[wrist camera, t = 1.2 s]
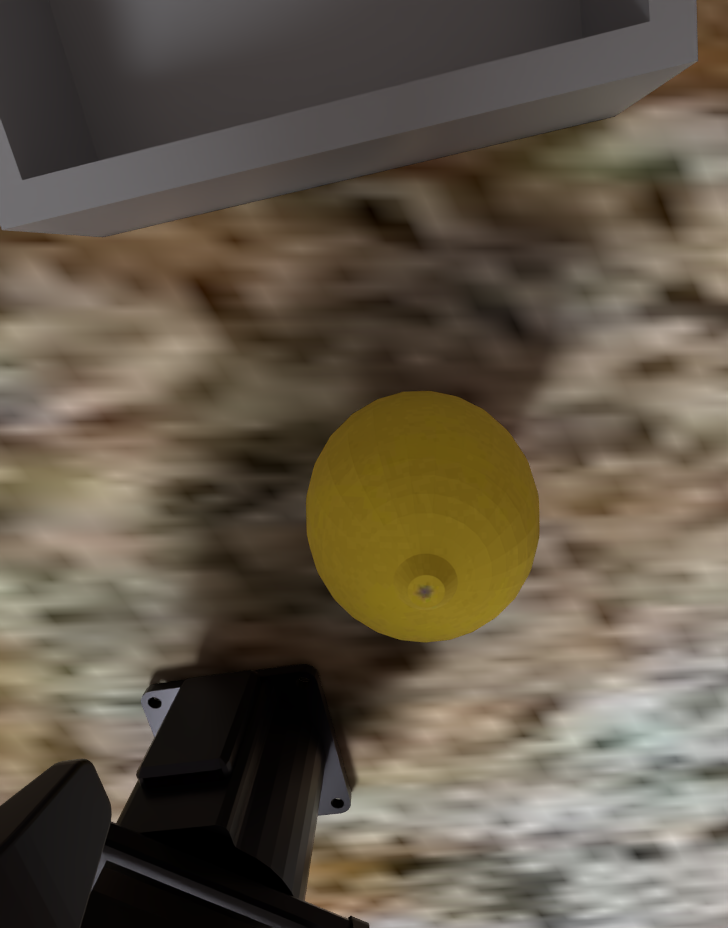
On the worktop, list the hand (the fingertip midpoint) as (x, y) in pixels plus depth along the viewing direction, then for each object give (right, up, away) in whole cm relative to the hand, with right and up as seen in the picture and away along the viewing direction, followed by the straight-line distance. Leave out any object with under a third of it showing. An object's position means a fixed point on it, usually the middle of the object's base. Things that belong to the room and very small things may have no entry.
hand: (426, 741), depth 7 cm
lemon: (+1, +4, +11) cm, 12 cm away
